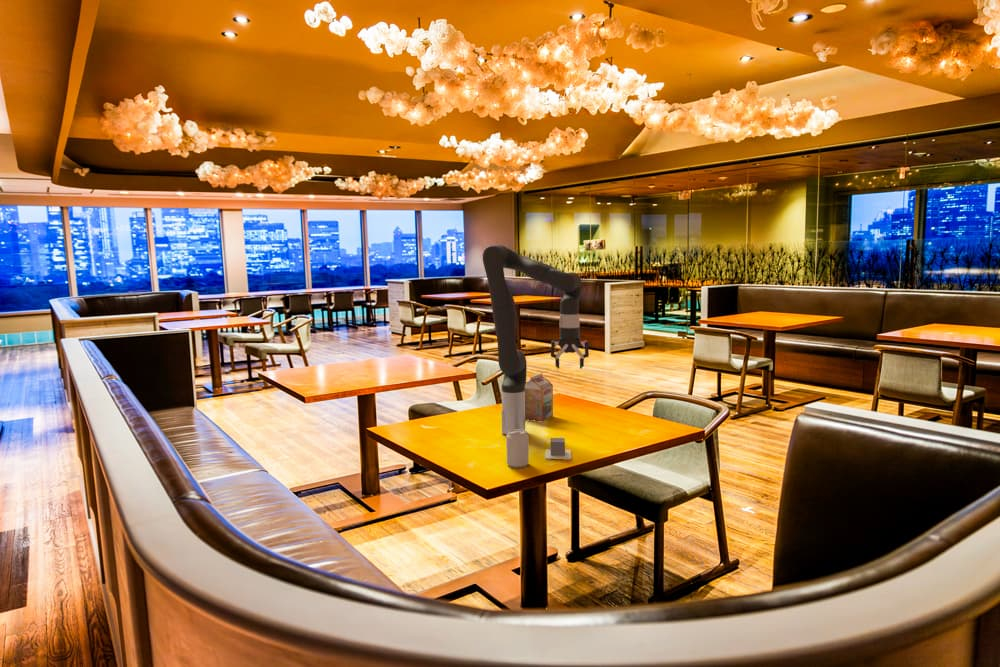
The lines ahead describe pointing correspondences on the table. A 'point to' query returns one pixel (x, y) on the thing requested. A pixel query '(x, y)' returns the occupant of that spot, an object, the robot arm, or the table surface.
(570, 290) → the robot arm
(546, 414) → the milk carton
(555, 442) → the cube
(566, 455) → the mat
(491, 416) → the table surface
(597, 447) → the table surface
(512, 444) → the can
